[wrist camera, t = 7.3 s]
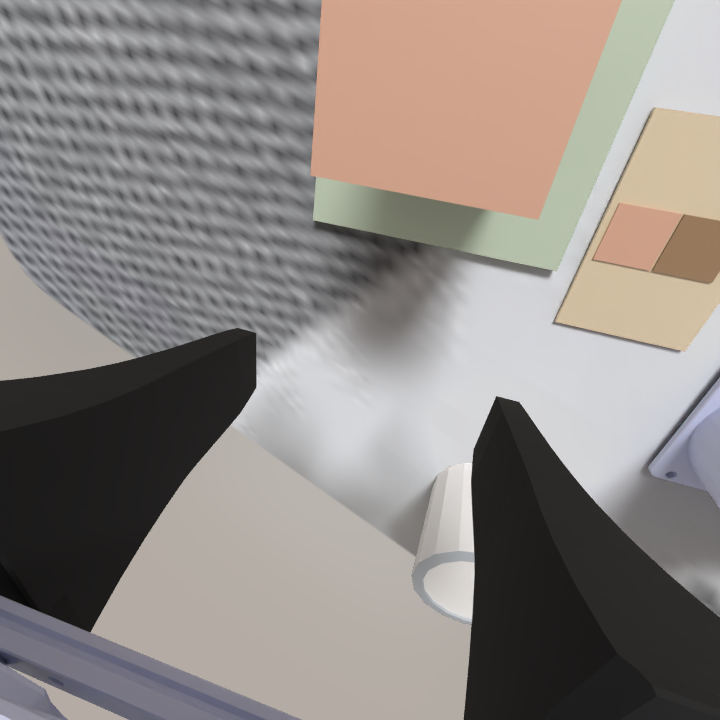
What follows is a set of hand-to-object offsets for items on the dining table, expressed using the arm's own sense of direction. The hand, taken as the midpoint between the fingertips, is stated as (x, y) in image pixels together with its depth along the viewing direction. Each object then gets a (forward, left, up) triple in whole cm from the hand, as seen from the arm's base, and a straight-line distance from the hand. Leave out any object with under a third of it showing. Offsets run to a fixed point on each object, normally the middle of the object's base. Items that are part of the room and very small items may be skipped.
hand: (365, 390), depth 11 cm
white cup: (-7, +14, -11) cm, 19 cm away
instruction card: (-10, -4, -10) cm, 15 cm away
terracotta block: (0, -8, -5) cm, 9 cm away
